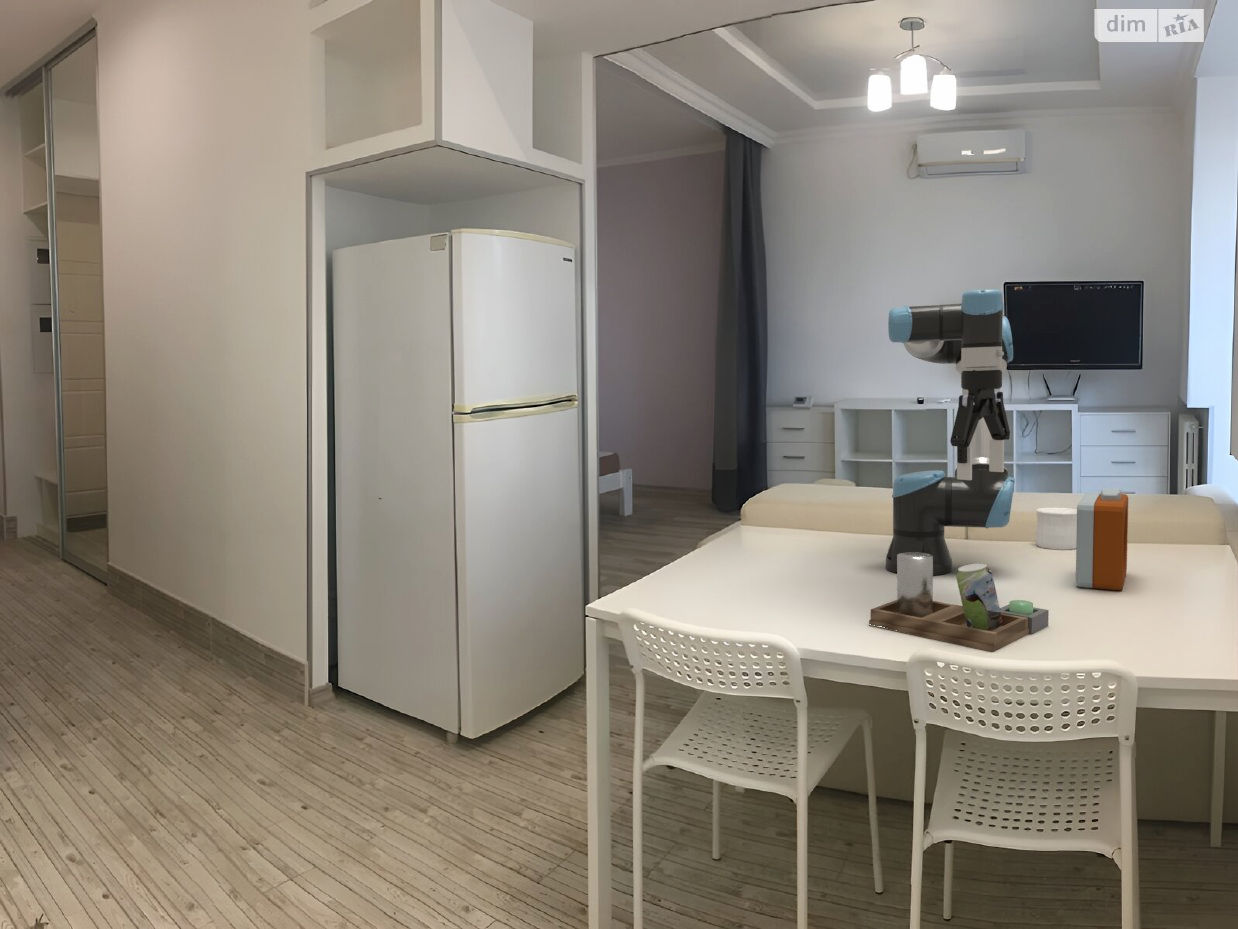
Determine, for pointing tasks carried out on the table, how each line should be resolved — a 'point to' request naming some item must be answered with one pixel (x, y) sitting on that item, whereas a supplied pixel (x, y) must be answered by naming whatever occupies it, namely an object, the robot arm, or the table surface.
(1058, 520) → the cup
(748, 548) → the table surface
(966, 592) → the beverage can
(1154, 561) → the table surface
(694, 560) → the table surface
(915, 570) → the seated billet
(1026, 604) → the button
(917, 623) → the wooden divided tray
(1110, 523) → the orange and grey box
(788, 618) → the table surface
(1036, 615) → the button housing
